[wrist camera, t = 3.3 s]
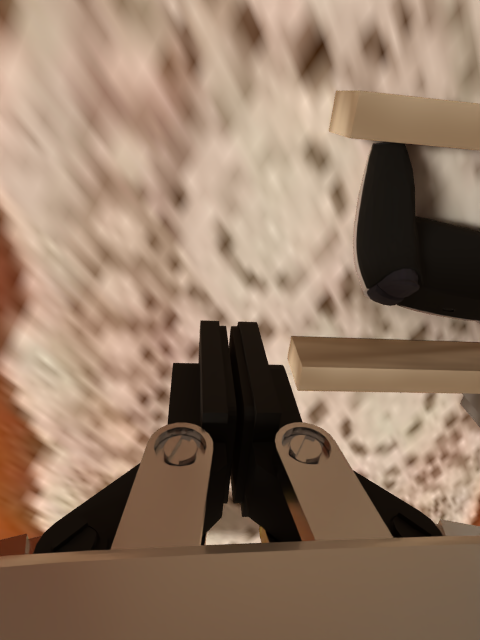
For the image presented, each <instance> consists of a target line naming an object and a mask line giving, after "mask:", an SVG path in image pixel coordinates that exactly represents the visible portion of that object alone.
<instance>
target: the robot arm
mask: <svg viewBox="0 0 480 640" xmlns="http://www.w3.org/2000/svg"><path fill="white" fill-rule="evenodd" d="M230 475H231V485H232V496H233V503H241V511H242V517H250V518H251V519H252V520H253V521H255V522H256V523H257V524H258V525H260V528H259V532H260V539H261V542H262V543H249V544H225V545H206V535H207V531H208V530H209V529H210V528H211V527H212V526H213V525H214V524H215V523H216V522H217V521H218V520H219V519H220V518H221V517H222V510H223V503H227V502H228V493H229V484H230ZM0 640H480V527H479V526H474V525H468V524H463V523H457V522H452V521H447V520H441V519H440V521H439V523H438V524H434V523H433V521H432V520H431V519H430V518H428V517H427V516H426V515H424V514H423V513H422V512H420V511H419V510H417V509H415V508H414V507H412V506H410V505H409V504H407V503H406V502H404V501H402V500H401V499H399V498H397V497H396V496H394V495H392V494H391V493H389V492H388V491H386V490H384V489H383V488H381V487H379V486H378V485H376V484H375V483H373V482H371V481H370V480H368V479H366V478H365V477H363V476H361V475H360V474H358V473H357V472H355V471H353V470H352V468H351V466H350V465H349V463H348V462H347V460H346V458H345V457H344V455H343V453H342V452H341V450H340V448H339V447H338V445H337V443H336V442H335V440H334V439H333V438H332V436H331V435H330V434H329V433H327V432H326V431H325V430H323V429H322V428H320V427H318V426H315V425H313V424H308V423H303V422H302V419H301V416H300V413H299V410H298V407H297V404H296V401H295V398H294V395H293V392H292V389H291V386H290V383H289V380H288V377H287V374H286V371H285V368H284V366H283V365H268V361H267V357H266V354H265V350H264V346H263V343H262V339H261V335H260V332H259V328H258V324H257V322H238V325H237V326H231V331H230V342H229V345H228V338H227V330H226V326H219V321H201V322H200V342H199V363H198V364H197V363H173V370H172V381H171V393H170V404H169V415H168V425H166V426H164V427H162V428H160V429H158V430H157V431H156V432H155V433H154V434H152V436H151V437H150V439H149V441H148V443H147V446H146V449H145V452H144V454H143V457H142V460H141V463H140V464H138V465H137V466H135V467H134V468H132V469H131V470H130V471H128V472H127V473H125V474H124V475H123V476H121V477H120V478H118V479H117V480H115V481H114V482H113V483H111V484H110V485H108V486H107V487H106V488H104V489H103V490H101V491H100V492H98V493H97V494H96V495H94V496H93V497H91V498H90V499H89V500H87V501H86V502H84V503H83V504H81V505H80V506H79V507H77V508H76V509H74V510H73V511H72V512H70V513H69V514H67V515H66V516H64V517H63V518H62V519H60V520H59V521H57V522H56V523H55V524H54V525H52V526H51V527H50V528H49V529H48V530H47V531H46V532H45V533H44V534H43V535H42V536H39V537H35V538H31V539H28V536H27V534H23V535H19V536H15V537H11V538H6V539H2V540H0Z"/></svg>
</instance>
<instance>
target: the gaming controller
mask: <svg viewBox="0 0 480 640" xmlns="http://www.w3.org/2000/svg"><path fill="white" fill-rule="evenodd" d="M353 251H354V263H355V268H356V272H357V275H358V278H359V281H360V284H361V287H362V290H363V293H364V295H365V296H366V297H367V298H370V299H371V300H373V301H375V302H378V303H380V304H383V305H389V306H392V305H396V304H397V305H399V306H402V307H405V308H408V309H411V310H414V311H419V312H423V313H427V314H432V315H437V316H443V317H449V318H455V319H460V320H470V321H476V322H478V323H480V232H479V231H475V230H470V229H466V228H462V227H458V226H454V225H450V224H446V223H442V222H438V221H434V220H429V219H425V218H420V217H416V216H415V187H414V178H413V169H412V165H411V162H410V159H409V155H408V152H407V148H406V146H405V143H396V142H382V143H376V144H374V143H373V145H372V147H371V150H370V153H369V156H368V159H367V163H366V167H365V171H364V175H363V179H362V183H361V187H360V191H359V196H358V202H357V209H356V216H355V222H354V234H353Z"/></svg>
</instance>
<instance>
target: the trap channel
mask: <svg viewBox="0 0 480 640" xmlns="http://www.w3.org/2000/svg"><path fill="white" fill-rule="evenodd" d="M329 132H332V133H336V134H339V135H342V136H345V137H348V138H354V139H365V140H375V141H386V142H396V143H407V144H418V145H428V146H439V147H449V148H460V149H471V150H480V104H477V103H468V102H459V101H449V100H440V99H431V98H422V97H413V96H404V95H394V94H385V93H376V92H367V91H336V95H335V100H334V106H333V111H332V117H331V122H330V128H329ZM287 359H288V362H289V365H290V368H291V371H292V374H293V377H294V381H295V384H296V387H297V390H298V391H351V392H410V393H462V394H463V395H464V397H463V399H462V401H461V403H460V404H461V405H462V406H463V408H464V409H465V410H466V411H467V412H468V414H469V415H470V416H471V417H472V418H473V420H474V421H475V422H476V423H477V424H478V426H479V427H480V343H476V342H446V341H416V340H386V339H356V338H326V337H296V336H291V342H290V347H289V353H288V358H287Z"/></svg>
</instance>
